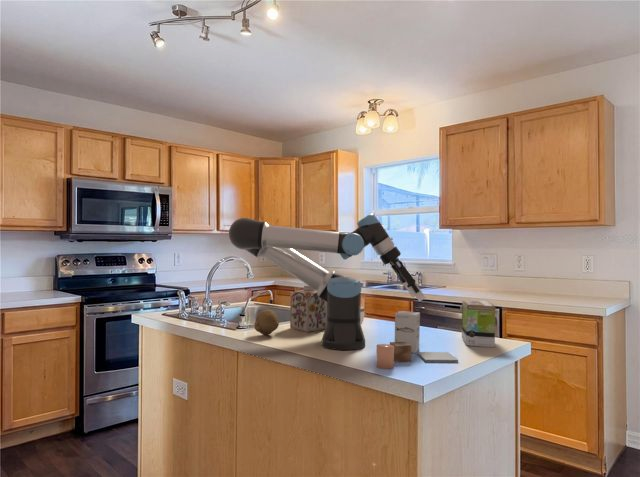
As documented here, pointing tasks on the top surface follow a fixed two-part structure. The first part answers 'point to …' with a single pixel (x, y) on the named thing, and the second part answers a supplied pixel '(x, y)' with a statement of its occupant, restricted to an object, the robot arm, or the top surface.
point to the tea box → (478, 323)
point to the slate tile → (437, 357)
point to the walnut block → (401, 351)
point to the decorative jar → (308, 310)
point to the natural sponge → (266, 322)
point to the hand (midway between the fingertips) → (418, 297)
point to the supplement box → (408, 328)
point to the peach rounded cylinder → (385, 356)
